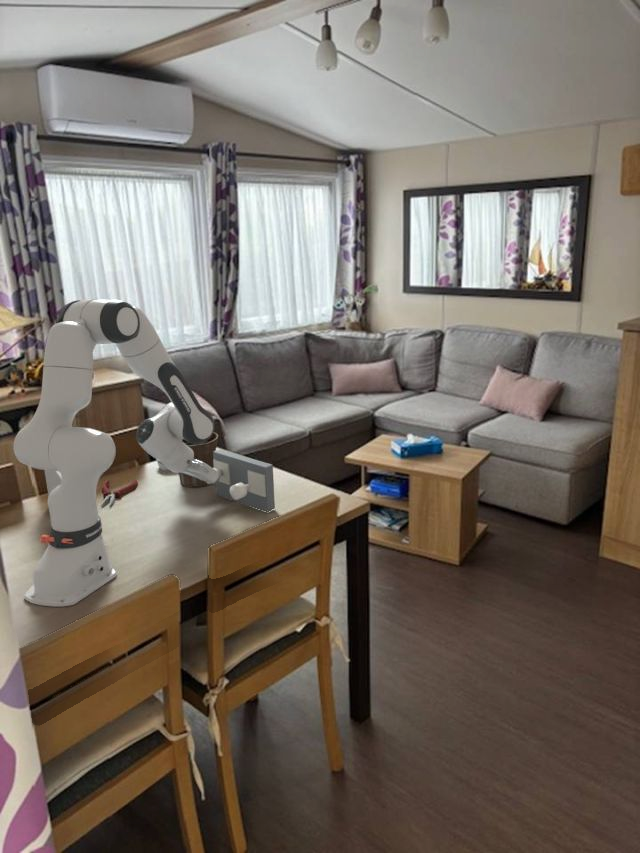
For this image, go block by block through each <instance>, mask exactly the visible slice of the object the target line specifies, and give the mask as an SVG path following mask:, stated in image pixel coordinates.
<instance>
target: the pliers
mask: <svg viewBox="0 0 640 853" xmlns="http://www.w3.org/2000/svg"><path fill="white" fill-rule="evenodd" d="M109 484H110V480H106V481H104V483H103V484H102V485H101V490H102V492H103V493H102V495H103V501H102V503H101V505H100V508H103V507H104V506H106V505H107V504H108V503H109V507H111V506H112V505H113V504H114V503H115V501H116V500H117V499H119V500H120V499H122V496H125V495H126V494H128V493H130V492H132V491H134V490H135V489H137V487H138V486H139V485H138V484H139V482H138V480H137V479H133V480H132V482H131V483H129V484H128V485H126V486H123V487H122V488H120V489H117V490H114V491H113V492H112V491H111V490H110V489H109V486H110V485H109ZM107 487H108V488H107Z"/></svg>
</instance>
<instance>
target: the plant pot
mask: <svg viewBox="0 0 640 853" xmlns="http://www.w3.org/2000/svg"><path fill="white" fill-rule="evenodd" d="M218 439H219V434H218V433H217V432H214V431H213V434H212V436H211V437H210V438H209V439H208V440H207V441H206V442H204V443H203V444H200V445H193V444H191V443H189V442H187V441H186V440H184V439H182V442H184V443H185V444H186V445H187V446H188V447H190V448H191V449H192V450H193V452H194V459H196V460H199V461H202V462H204V463H206V464H207V465H209V466H210V467H212V468H214V463H213V460H214V456H213V452H214V451H217V447H218V446H217V445H218V444H217V443H218ZM178 476H179V482H180V484H181V485H182V486H184V487H187V488H194V487H197V488H201V487H202V488H203V487H206V486H209V485H210V484H208V483H207V482H204V481H202V480H200V479H198V478H196V477H193V476H190V475H187V474H185V473H182V472H180V473H178Z"/></svg>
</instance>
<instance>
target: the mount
mask: <svg viewBox="0 0 640 853" xmlns="http://www.w3.org/2000/svg"><path fill="white" fill-rule="evenodd" d="M213 456H214V460H213V463H214V468H216V469H217V470H220V469H221V470H222V471H223V475H222V476H220V479H219V481H217V482H215V494H216V495H217V496H218V497H219V496H220V497H222V498H225V499H227V500H230V499H231V500H230V501H232V500H233V502H235V501H236V502H235V503H238V502H239V503H238V504H241V503H242V504H241V505H243V504H245V505H244V506H246V505H248V506H247V507H249V506H251V507H250V508H252V507H254V508H257V509H260V510H263V511H266V512H269V511H271V510H272V509H274V508H275V505H276V503H275V485H274V484H275V483H274V480H275V479H274V465H273V464H272V463H268V462H265V461H261V460H258V459H254V458H251V457H248V456H244V455H241V454H237V453H235V452H230V451H227V450H224V449H221V448H220V449H216V451H214V452H213ZM240 482H241V483H243V484H244V485H246V484H249V485H250V490H249V491H247V495H246V496H245V497H242V498H240V499H238V500H235V499H233V498H232V496H231V494H230V487H231V486H233V485H235V484H237V483H240ZM254 508H253V509H254ZM257 509H256V510H257ZM275 509H276V508H275ZM260 510H259V511H260Z"/></svg>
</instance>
